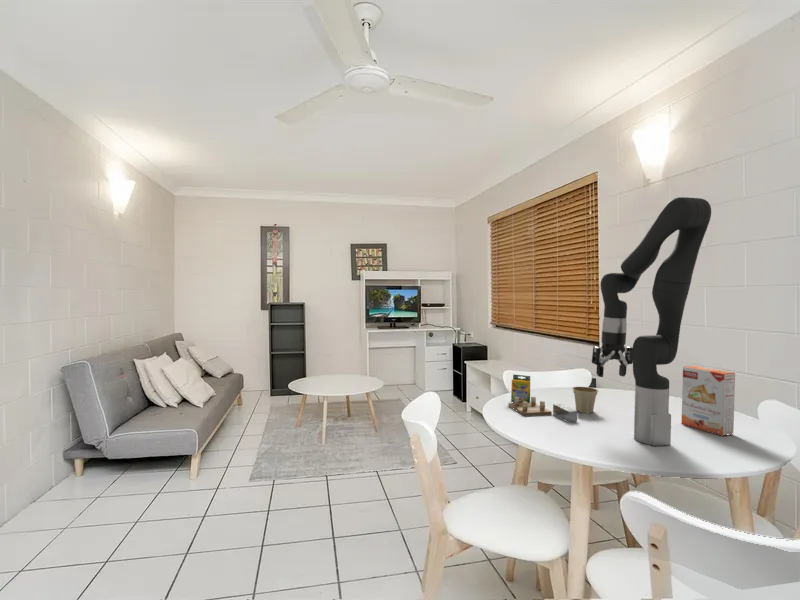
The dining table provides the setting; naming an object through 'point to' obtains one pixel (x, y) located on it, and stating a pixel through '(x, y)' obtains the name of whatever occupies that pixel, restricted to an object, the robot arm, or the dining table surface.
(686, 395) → the cracker box
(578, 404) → the flower pot
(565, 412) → the translucent grey block
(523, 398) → the crayon box
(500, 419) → the dining table surface
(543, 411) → the rack
